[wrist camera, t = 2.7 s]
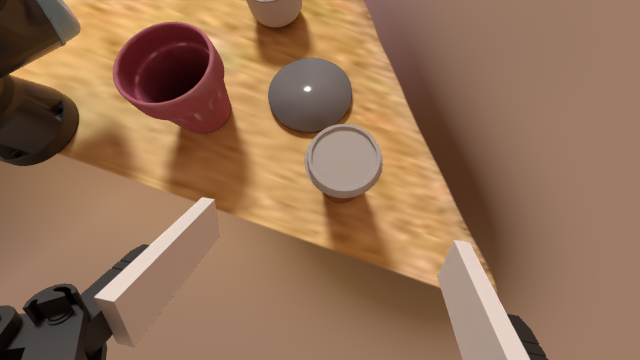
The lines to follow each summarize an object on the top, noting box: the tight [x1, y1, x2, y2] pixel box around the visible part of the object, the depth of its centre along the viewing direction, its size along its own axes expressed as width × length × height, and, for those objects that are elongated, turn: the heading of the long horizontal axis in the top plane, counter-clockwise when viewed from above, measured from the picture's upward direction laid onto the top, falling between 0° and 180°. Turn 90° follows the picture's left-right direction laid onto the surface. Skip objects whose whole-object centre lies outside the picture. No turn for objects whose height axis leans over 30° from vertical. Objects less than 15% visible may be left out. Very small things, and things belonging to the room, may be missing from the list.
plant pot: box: [113, 22, 231, 134], centre depth 41 cm, size 14×14×13 cm
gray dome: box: [268, 58, 352, 133], centre depth 46 cm, size 15×15×1 cm
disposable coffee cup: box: [305, 124, 383, 203], centre depth 36 cm, size 10×10×12 cm
